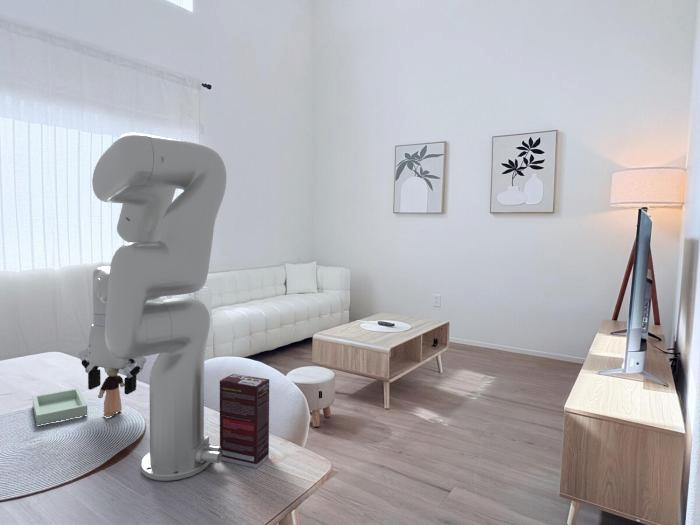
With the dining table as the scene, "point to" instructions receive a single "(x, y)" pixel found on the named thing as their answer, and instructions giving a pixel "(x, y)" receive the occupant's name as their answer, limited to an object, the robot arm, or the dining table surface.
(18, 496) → the dining table surface
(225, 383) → the supplement box
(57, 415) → the tray
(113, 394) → the grandmother figurine
